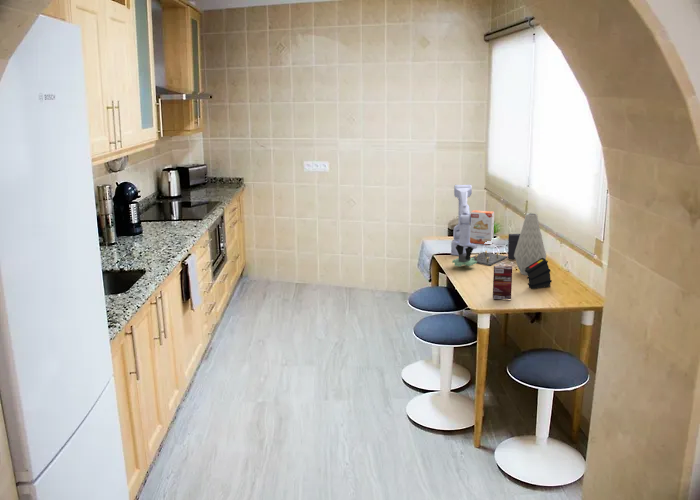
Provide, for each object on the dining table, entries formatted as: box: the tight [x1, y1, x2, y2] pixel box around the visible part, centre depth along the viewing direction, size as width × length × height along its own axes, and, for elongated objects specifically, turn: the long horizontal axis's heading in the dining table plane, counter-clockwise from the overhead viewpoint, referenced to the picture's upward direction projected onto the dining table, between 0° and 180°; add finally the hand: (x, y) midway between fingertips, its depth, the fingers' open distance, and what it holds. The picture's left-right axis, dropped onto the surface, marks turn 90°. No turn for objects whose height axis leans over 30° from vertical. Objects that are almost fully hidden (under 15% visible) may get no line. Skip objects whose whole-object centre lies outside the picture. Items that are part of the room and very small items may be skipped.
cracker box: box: [470, 209, 495, 245], centre depth 396 cm, size 14×6×21 cm, turn 62°
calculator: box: [507, 233, 520, 261], centre depth 359 cm, size 11×4×15 cm, turn 84°
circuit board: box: [451, 253, 477, 267], centre depth 347 cm, size 12×15×5 cm
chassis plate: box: [470, 250, 508, 267], centre depth 362 cm, size 16×20×4 cm
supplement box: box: [492, 265, 513, 300], centre depth 296 cm, size 9×5×16 cm, turn 80°
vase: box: [514, 212, 547, 277], centre depth 330 cm, size 17×17×33 cm
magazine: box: [525, 258, 552, 290], centre depth 310 cm, size 4×13×15 cm, turn 105°
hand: (464, 258), depth 347 cm, fingers closed on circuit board, 4 cm apart
